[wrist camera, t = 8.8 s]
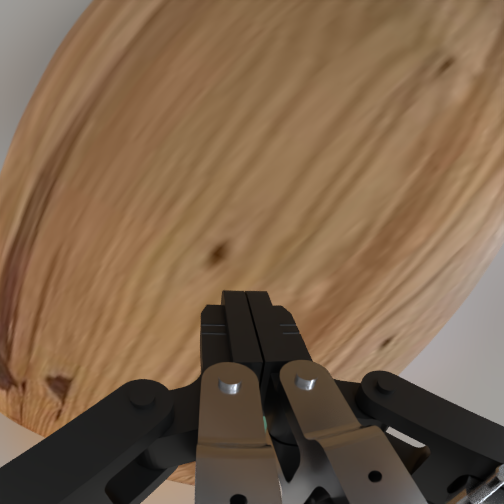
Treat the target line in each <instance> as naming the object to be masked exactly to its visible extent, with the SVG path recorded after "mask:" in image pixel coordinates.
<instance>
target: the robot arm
mask: <svg viewBox="0 0 504 504" xmlns="http://www.w3.org/2000/svg"><path fill="white" fill-rule="evenodd" d="M200 359H201V375H200V376H199V378H198V379H197V380H196V381H195V382H193V383H192V384H190V385H188V386H186V387H182V388H178V389H174V390H168V389H167V388H166V387H165V386H164V385H162V384H161V383H159V382H156V381H153V380H147V379H138V380H133V381H130V382H127V383H125V384H124V385H122V386H121V387H119V388H118V389H117V390H115V391H114V392H112V393H111V394H109V395H108V396H107V397H105V398H104V399H102V400H101V401H99V402H98V403H97V404H95V405H94V406H92V407H91V408H89V409H88V410H86V411H85V412H84V413H82V414H81V415H79V416H78V417H76V418H75V419H73V420H72V421H70V422H69V423H67V424H66V425H65V426H63V427H62V428H60V429H59V430H57V431H56V432H54V433H53V434H51V435H50V436H48V437H47V438H45V439H44V440H42V441H41V442H39V443H38V444H36V445H35V446H33V447H32V448H30V449H29V450H27V451H25V452H24V453H22V454H21V455H19V456H18V457H16V458H15V459H13V460H12V461H10V462H9V463H7V464H5V465H4V466H2V467H1V468H0V504H140V503H141V502H142V501H143V500H145V499H146V498H147V497H148V496H149V495H150V494H151V493H152V492H153V491H154V490H155V489H156V488H157V487H159V485H161V484H162V483H163V482H164V481H165V480H166V479H167V478H168V477H169V476H170V475H171V474H172V473H173V472H174V471H175V470H176V469H177V467H178V465H182V464H186V463H190V462H193V461H196V472H195V504H504V427H503V426H501V425H499V424H497V423H494V422H492V421H490V420H488V419H486V418H484V417H481V416H479V415H477V414H475V413H473V412H470V411H468V410H466V409H464V408H462V407H460V406H458V405H456V404H454V403H451V402H449V401H447V400H445V399H443V398H441V397H439V396H437V395H435V394H433V393H430V392H429V391H426V390H425V389H423V388H421V387H418V386H416V385H415V384H413V383H410V382H408V381H407V380H405V379H403V378H400V377H399V376H397V375H395V374H392V373H390V372H387V371H372V372H370V373H368V374H366V375H365V376H364V378H363V379H362V382H361V383H355V382H347V381H340V380H336V379H333V378H332V376H331V375H330V373H329V372H328V370H327V369H326V368H324V367H323V366H321V365H320V364H318V363H315V362H313V361H312V359H311V356H310V354H309V352H308V350H307V348H306V345H305V343H304V341H303V339H302V336H301V334H299V330H298V328H297V326H296V323H295V321H294V319H293V316H292V314H291V313H290V312H288V311H287V310H286V309H285V308H284V307H283V306H273V305H272V303H271V300H270V298H269V295H268V293H267V291H245V292H244V291H226V290H223V291H222V298H221V305H207V306H206V307H205V308H204V310H203V311H202V313H201V331H200ZM263 416H265V419H266V423H267V426H266V430H265V428H264V420H263ZM389 426H390V427H392V428H394V429H395V430H397V431H399V432H401V433H403V434H405V435H407V436H409V437H411V438H413V439H415V440H417V441H419V442H421V443H423V444H425V445H426V446H424V447H421V448H418V447H414V446H412V445H410V444H408V443H406V442H404V441H402V440H400V439H398V438H396V437H394V436H392V435H391V434H389V433H387V432H386V430H387V429H388V427H389ZM278 478H279V479H278ZM279 481H280V484H281V487H282V498H281V492H280V485H279Z"/></svg>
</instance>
